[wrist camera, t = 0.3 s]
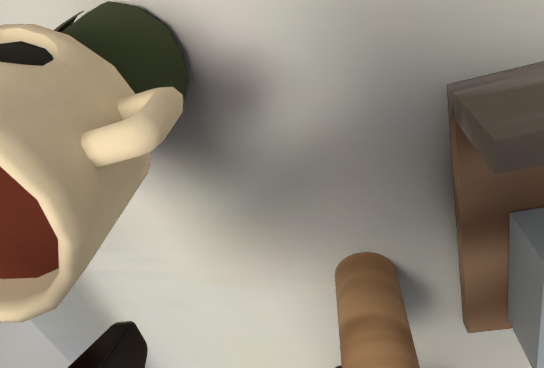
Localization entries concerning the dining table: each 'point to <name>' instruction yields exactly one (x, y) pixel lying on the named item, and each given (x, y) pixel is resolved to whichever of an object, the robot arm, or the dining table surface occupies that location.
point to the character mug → (76, 142)
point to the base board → (494, 180)
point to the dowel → (372, 315)
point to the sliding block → (527, 282)
